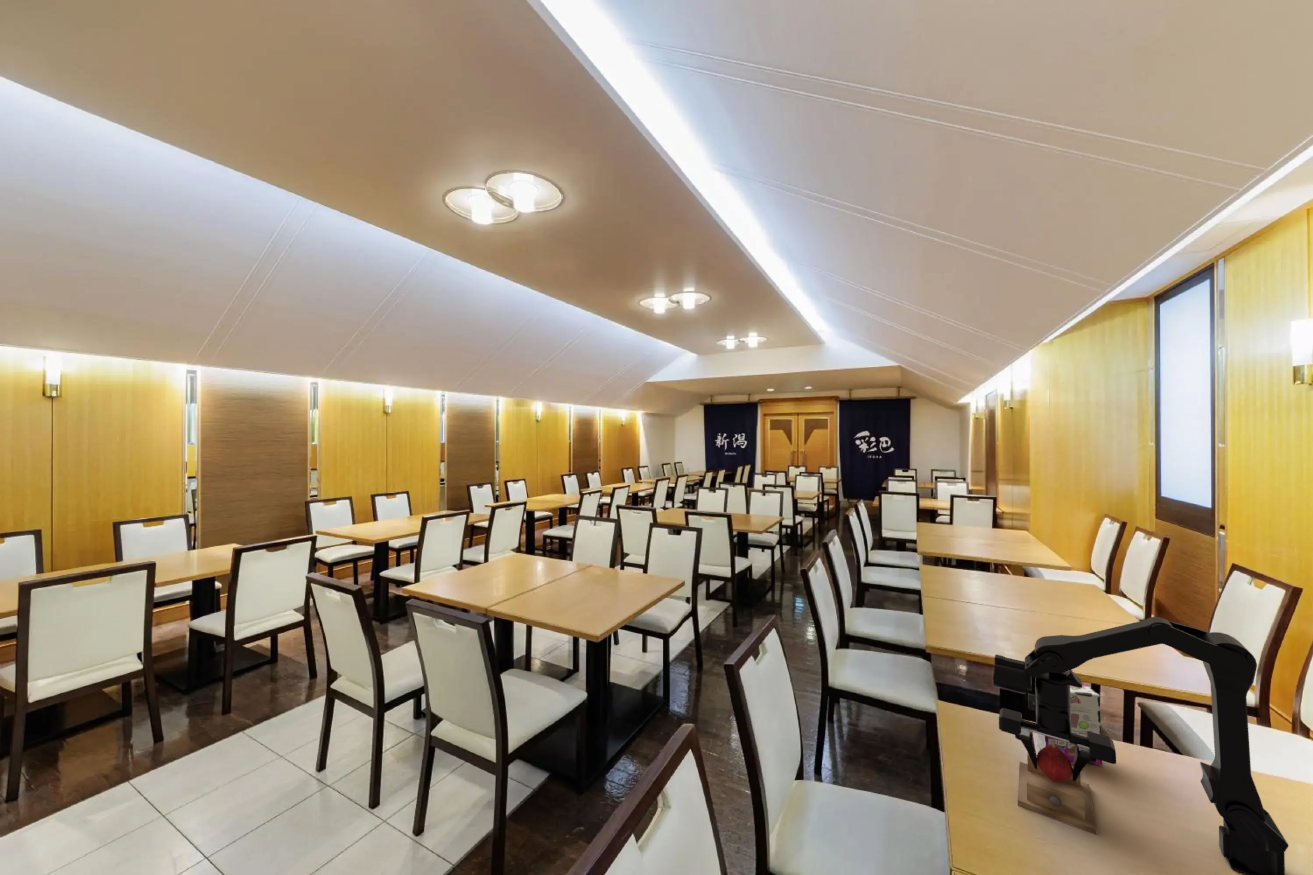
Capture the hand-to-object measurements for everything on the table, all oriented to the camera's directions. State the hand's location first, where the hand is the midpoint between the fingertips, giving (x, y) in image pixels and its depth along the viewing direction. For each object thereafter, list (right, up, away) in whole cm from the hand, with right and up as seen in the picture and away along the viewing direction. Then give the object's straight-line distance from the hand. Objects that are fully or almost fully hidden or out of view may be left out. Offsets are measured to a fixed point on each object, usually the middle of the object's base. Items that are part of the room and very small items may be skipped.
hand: (1054, 773), depth 101 cm
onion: (0, -2, 0) cm, 2 cm away
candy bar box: (+14, -5, +13) cm, 20 cm away
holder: (0, -5, 0) cm, 5 cm away
